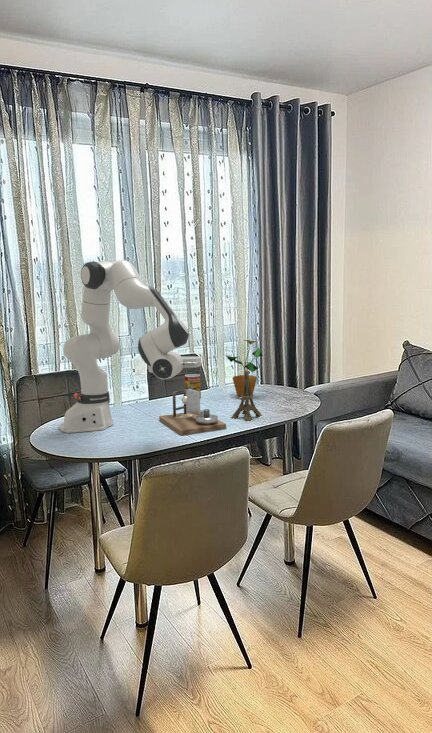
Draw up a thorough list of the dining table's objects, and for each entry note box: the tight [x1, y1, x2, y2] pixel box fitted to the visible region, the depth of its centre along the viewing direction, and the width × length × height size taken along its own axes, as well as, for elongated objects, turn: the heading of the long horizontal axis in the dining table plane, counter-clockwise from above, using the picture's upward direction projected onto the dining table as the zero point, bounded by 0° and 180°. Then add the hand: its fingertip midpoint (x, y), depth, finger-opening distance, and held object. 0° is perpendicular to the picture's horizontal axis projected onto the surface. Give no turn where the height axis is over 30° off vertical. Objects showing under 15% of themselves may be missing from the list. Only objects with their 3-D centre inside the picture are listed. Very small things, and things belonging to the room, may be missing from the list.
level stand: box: [158, 388, 227, 436], centre depth 240 cm, size 20×25×13 cm
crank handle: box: [181, 389, 219, 425], centre depth 239 cm, size 20×9×12 cm, turn 42°
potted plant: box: [225, 339, 264, 398], centre depth 287 cm, size 18×19×30 cm
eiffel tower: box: [230, 367, 263, 422], centre depth 249 cm, size 11×11×25 cm
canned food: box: [184, 373, 202, 400], centre depth 286 cm, size 8×8×12 cm
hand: (177, 360), depth 223 cm, fingers closed
